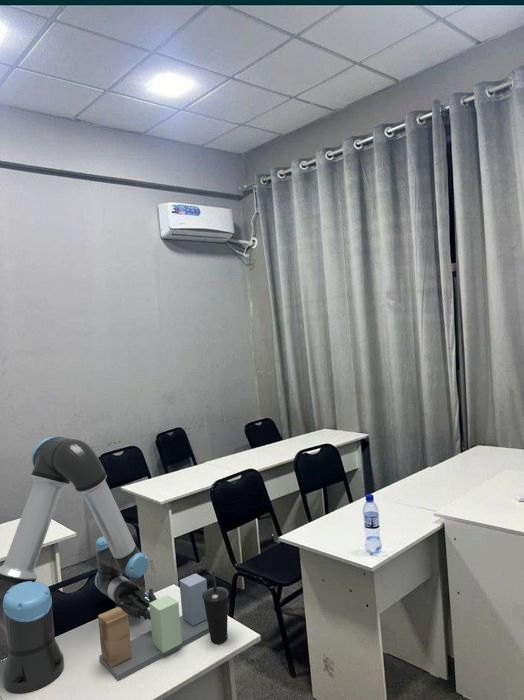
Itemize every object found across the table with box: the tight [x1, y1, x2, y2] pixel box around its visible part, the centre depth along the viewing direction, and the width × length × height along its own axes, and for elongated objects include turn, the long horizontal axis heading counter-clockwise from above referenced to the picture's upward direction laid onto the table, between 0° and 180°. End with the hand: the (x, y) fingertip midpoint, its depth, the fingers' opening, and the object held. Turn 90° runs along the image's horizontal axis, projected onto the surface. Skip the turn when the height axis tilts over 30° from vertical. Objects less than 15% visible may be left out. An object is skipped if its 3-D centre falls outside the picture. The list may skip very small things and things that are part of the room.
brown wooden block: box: [97, 606, 132, 667], centre depth 142 cm, size 6×6×12 cm
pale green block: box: [149, 594, 182, 653], centre depth 147 cm, size 6×6×12 cm
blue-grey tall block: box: [178, 573, 208, 626], centre depth 159 cm, size 6×6×12 cm
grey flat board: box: [98, 615, 210, 681], centre depth 150 cm, size 12×32×2 cm, turn 130°
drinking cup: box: [202, 571, 230, 645], centre depth 150 cm, size 8×8×20 cm
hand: (160, 619), depth 150 cm, fingers closed
